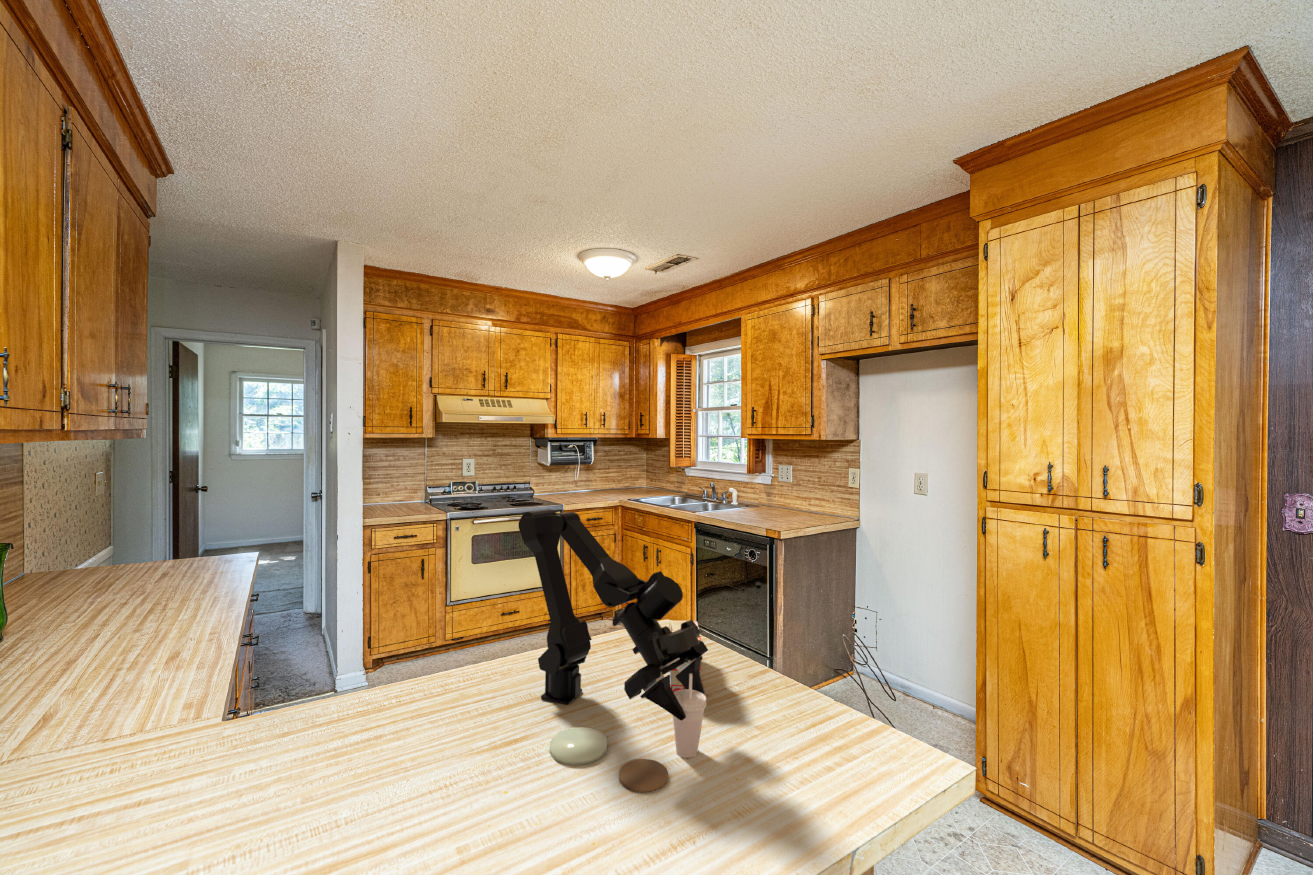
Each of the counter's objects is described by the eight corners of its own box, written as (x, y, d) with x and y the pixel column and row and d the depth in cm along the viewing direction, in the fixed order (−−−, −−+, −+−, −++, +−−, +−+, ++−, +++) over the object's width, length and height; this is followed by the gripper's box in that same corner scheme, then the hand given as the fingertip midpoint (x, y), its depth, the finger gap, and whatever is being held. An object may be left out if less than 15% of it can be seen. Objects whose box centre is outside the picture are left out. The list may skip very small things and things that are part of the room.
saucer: (538, 757, 98) (538, 751, 98) (566, 728, 107) (566, 722, 107) (591, 770, 95) (592, 764, 95) (616, 739, 104) (616, 733, 104)
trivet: (610, 785, 91) (611, 781, 91) (629, 758, 98) (629, 754, 98) (658, 797, 88) (658, 793, 88) (674, 768, 96) (674, 765, 96)
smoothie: (679, 766, 96) (682, 683, 96) (662, 746, 102) (664, 668, 102) (712, 756, 99) (714, 676, 99) (693, 738, 105) (695, 662, 105)
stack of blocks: (668, 657, 142) (669, 607, 141) (694, 657, 142) (695, 608, 141) (670, 698, 120) (671, 640, 120) (700, 699, 120) (702, 641, 120)
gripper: (639, 622, 95) (693, 710, 89) (700, 597, 110) (750, 670, 104) (602, 656, 100) (651, 742, 94) (666, 628, 115) (712, 700, 109)
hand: (694, 711), depth 100 cm, fingers closed on smoothie, 6 cm apart
